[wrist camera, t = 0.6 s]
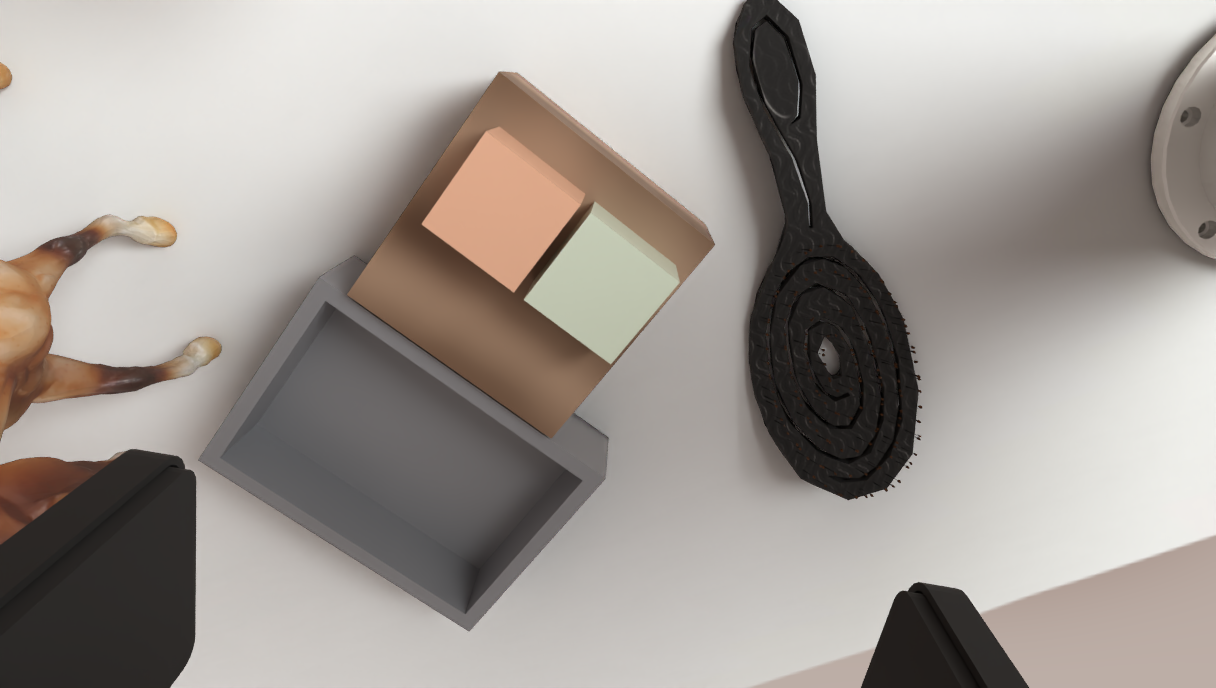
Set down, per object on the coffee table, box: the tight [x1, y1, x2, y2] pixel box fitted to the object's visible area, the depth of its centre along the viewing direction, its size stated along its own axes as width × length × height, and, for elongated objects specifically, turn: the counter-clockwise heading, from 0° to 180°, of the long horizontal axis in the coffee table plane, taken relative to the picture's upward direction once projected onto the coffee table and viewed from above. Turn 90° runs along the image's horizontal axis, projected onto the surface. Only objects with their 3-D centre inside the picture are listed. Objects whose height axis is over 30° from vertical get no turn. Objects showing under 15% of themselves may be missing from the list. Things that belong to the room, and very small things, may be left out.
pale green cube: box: [524, 202, 680, 364], centre depth 32 cm, size 4×4×3 cm
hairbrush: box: [733, 0, 922, 500], centre depth 37 cm, size 8×4×25 cm
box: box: [199, 256, 608, 631], centre depth 39 cm, size 12×16×4 cm
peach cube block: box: [422, 127, 585, 292], centre depth 31 cm, size 4×4×3 cm
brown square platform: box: [347, 72, 715, 439], centre depth 36 cm, size 12×12×5 cm
